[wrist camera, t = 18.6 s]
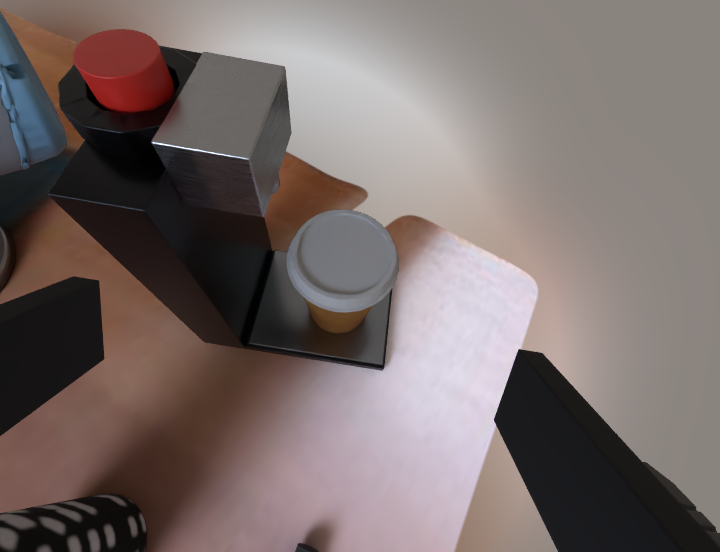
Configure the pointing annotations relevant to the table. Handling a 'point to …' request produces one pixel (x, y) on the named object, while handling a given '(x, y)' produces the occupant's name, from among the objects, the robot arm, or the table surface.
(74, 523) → the spotted tube
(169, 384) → the table surface
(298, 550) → the marker
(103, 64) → the button
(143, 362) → the table surface
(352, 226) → the disposable coffee cup
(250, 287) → the tower
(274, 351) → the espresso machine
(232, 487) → the table surface
